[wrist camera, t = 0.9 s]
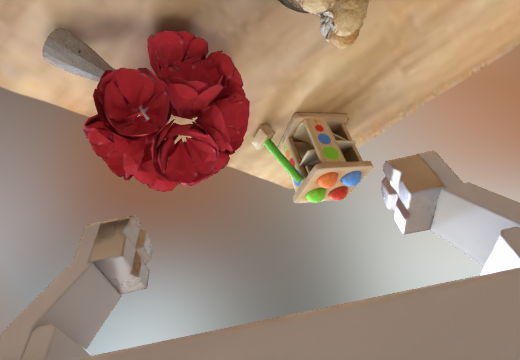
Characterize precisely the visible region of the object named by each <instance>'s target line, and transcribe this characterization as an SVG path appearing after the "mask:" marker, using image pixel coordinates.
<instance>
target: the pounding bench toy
mask: <svg viewBox="0 0 520 360" xmlns="http://www.w3.org/2000/svg"><path fill="white" fill-rule="evenodd" d="M348 119H349V118H348V116H347V114H337V113H294V115H293V117H292V119H291V121H290V123H289V125H288V127H287V129H286V131H285V133H284V135H283V137H282V139H281V142H280V144H279V146H278V148H277V147H276V145H275V144H274V143H273V142H272V141H271V138H272V137H273V135H274V134H275V131H274V130H273V129H272V128H271V127H270V125H268V124H265V125H262V126H261V127H260V128H259V130H258V132H257V133H256V135H255V137H254V138H253V140H252V144H253V145H254V146H255V148H256V149H257V150H259V149H261V148H263V147H265V146H266V147H267V148H268V149H269V150H270V152H271V153H272V154H273V155H274V156H275V157H276V159H277V160H278V161H279V162H280V163H281V164H282V166H283V167H284V168H285V169H286V170H287V171H288V173H289V175H290V178H291V180H292V183H293V186H294V188H295V191H296V193H295V195H294V197H293V200H294V202H295V203H304V202H313V203H318V202H320V201H328V200H342V199H344V198H345V197H346V196H347V195H348V194H349V193H350V192H351V191H352V190H353V189H354V187H355V186H356V185H357V184H358V183H359V182H360V181H361V180H362V179H363V178H364V177H365V176H366V175H367V174H368V173H369V172H370V171H371V170H372V168H373V165H372V163H371V162H370V161H363V160H362V158H361V156H360V155H359V152H358V150H357V148H356V146H355V144H356V141H353V140H352V138H351V136H350V134H349V132H348V130H347V128H346V126H345V123H346V122H347V121H348Z"/></svg>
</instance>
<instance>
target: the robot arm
mask: <svg viewBox="0 0 520 360" xmlns="http://www.w3.org/2000/svg"><path fill="white" fill-rule="evenodd" d="M383 172H384V174H385V175H386V177H385V178H384V179H383V180H382V188H381V189H382V194H383V199H384V201H385V204H386V205H387V207H388V209H390V210H392V211H394V212H395V216H394V219H395V221H396V223H397V225H398V226H399V228H400V230H401V231H402V233H403V234H408V233H413V232H420V231H425V230H430V231H431V232H433V233H434V234H436V235H437V236H439V237H440V238H442V239H443V240H445V241H447V242H448V243H449V244H451V245H452V246H454V247H455V248H457V249H458V250H460V251H461V252H463V253H465V254H466V255H468V256H469V257H471V258H472V259H474V260H475V261H477V262H478V263H480V264H481V265H483V266H484V268H483V270H482V272H481V274H480V275H479V276H475V277H470V278H465V279H460V280H455V281H451V282H446V283H441V284H436V285H432V286H427V287H421V288H417V289H412V290H407V291H403V292H397V293H393V294H388V295H383V296H378V297H373V298H369V299H364V300H359V301H354V302H350V303H344V304H340V305H335V306H331V307H325V308H320V309H316V310H311V311H306V312H301V313H296V314H292V315H287V316H282V317H277V318H272V319H268V320H263V321H258V322H253V323H248V324H244V325H239V326H234V327H229V328H224V329H219V330H214V331H210V332H205V333H200V334H195V335H190V336H186V337H181V338H176V339H171V340H166V341H161V342H157V343H152V344H147V345H142V346H137V347H132V348H128V349H123V350H118V351H113V352H108V353H104V354H99V355H94V356H93V355H92V354H91V353H89V352H88V351H87V350H86V349H87V347H88V346H89V345H90V343H91V341H92V340H93V338H94V337H95V335H96V333H97V332H98V331H99V329H100V328H101V326H102V325H103V323H104V322H105V320H106V319H107V317H108V316H109V314H110V312H111V311H112V310H113V308H114V307H115V305H116V304H117V302H118V301H119V299H120V298H121V294H125V293H129V292H133V291H138V290H142V289H146V288H147V285H148V278H149V269H148V267H147V266H146V264H147V263H148V262H149V261H150V259H151V255H152V246H151V241H150V239H149V236H148V234H147V233H146V231H144V230H142V229H140V221H139V220H138V219H137V217H136V216H128V217H122V218H118V219H112V220H107V221H103V222H98V223H93V224H88V225H87V226H86V227H85V228H84V231H83V233H82V236H81V239H80V242H79V245H78V248H77V251H76V253H75V256H74V259H73V262H72V265H71V267H68V268H66V269H65V270H64V271H63V272H62V273H61V274H60V275H59V276H58V277H57V278H56V279H55V280H54V281H53V282H52V283H51V284H50V285H49V286H48V287H47V288H46V289H45V290H44V291H43V292H42V293H41V294H40V295H39V296H38V297H37V298H36V299H35V300H34V301H33V302H32V303H31V304H30V305H29V306H28V307H27V308H26V309H25V310H24V311H23V312H22V313H21V314H20V315H19V316H18V317H17V318H16V319H15V320H14V321H13V322H12V323H11V324H10V325H9V326H8V327H7V328H6V329H5V330H4V331H3V332H2V333H1V335H0V360H520V203H519V202H516V201H514V200H511V199H509V198H506V197H504V196H501V195H499V194H496V193H494V192H491V191H489V190H486V189H484V188H481V187H478V186H476V185H474V184H471V183H463V182H462V181H461V180H460V179H459V177H458V176H457V175H456V174H455V173H454V172H453V171H452V170H451V168H450V167H449V166H448V165H447V164H446V163H445V162H444V161H443V159H441V157H440V156H439V155H438V154H437V153H436V152H435V151H429V152H425V153H420V154H416V155H412V156H407V157H403V158H398V159H394V160H389V161H385V163H384V166H383Z"/></svg>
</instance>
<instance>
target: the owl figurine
mask: <svg viewBox="0 0 520 360" xmlns="http://www.w3.org/2000/svg"><path fill="white" fill-rule="evenodd" d="M278 1H280V2H281V3H282V4H283V5H285V6H286V7H288V8H290V9H292V10H295V11H297V12H302V13H312V14H314V13H315V14H316V15H318V16H320V23H321V27H320V31H321V33H322V34H323V35H324V36H325V38H326V40H327V41H329V42H330V43H331V44H333V46H336V47H338V48H347V47H349V46H351V45H352V44H353V43H354V41H355V40H356V39H357V37H358V35H359V31H360V29H361V27H362V25H363V21H364V19H365V17H366V12H367V7H368V2H370V0H278Z"/></svg>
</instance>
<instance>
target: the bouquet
mask: <svg viewBox="0 0 520 360" xmlns="http://www.w3.org/2000/svg"><path fill="white" fill-rule="evenodd" d="M222 52H223V51H222V50H221V51H217V52H213V53H211V54H210V55H209V56H208V57H207V58H205V57H206V54H207V53H208V43H207V42H206V41H205V40H204V39H202V38H199V37H198V38H196V37H195V35H194V34H191V33H188V32H185V31H164V30H163V31H161V32H158V33H157V34H156V36H155V37H154V36H153V35H150V36H149V38H148V53H149V58H150V64H151V67H152V68H153V70H154V72H155V74H156V75H157V76H156V75H155V74H153V73H152V72H151V71H149V70H148V69H147V68H138V70H137V69H126V68H120V69H118V70H115V69H113V68H112V67H111V66H110V65H109V64H108V63H106V62H105V61H104V60H103V59H102V58H101V57H100V56H99V55H98V54H97V53H96V52H95V51H93V50H92V49H91V48H90V47H89V46H88V45H86V44H85V43H84V42H83V41H82V40H80V39H79V38H77V37H76V36H74V35H73V34H71V33H69V32H67V31H66V30H64V29H62V28H58V29H56V30H54V31H53V32H52V33H51V34H50V35H49V36H48V38H47V40H46V42H45V44H44V47H43V57H44V59H45V60H46V61H48V62H50V63H51V64H53V65H55V66H56V67H58V68H61V69H63V70H66V71H68V72H70V73H73V74H76V75H79V76H82V77H85V78H89V79H92V80H95V81H98V82H99V83H98V86H97V89H95V91H94V94H93V97H94V101H95V106H96V109H97V112H98V114H97V115H95V116H93V117H90V118H89V119H88V120H87V121H86V122H85V124H84V127H83V130H84V132H85V135H86V138H87V139H88V140H89V142H90V143H91V145H92V148H93V150H94V151H95V152H96V154H97V155H98V156H100V157H102V159H103V160H104V161H105V162H106V163H107V164H108V166H109V168H110V169H111V171H112V172H113V173H114V174H116V175H117V176H119V177H122V176H124V179H125V180H129V179H130V178H131V177H132V176H134V177H135V178H136V179H137V180H138V181H140V182H141V183H143V184H147V185H148V187H149V188H152V189H155V190H157V191H162V192H166V191H171V190H173V189H174V188H175V187H176V186H177V185H178V183H179V184H181V183H182V185H183V186H186V185H187V184H188V185H190V186H192V185H195V184H198V183H199V182H201V181H203V180H205V179H207V178H209V177H210V176H212V175H213V174H216V173H218V172H219V170H221V169H223V168H224V167H225V166H226V165H227V164H228V162H229V159H230V157H229V155H231V154H233V153H235V151H236V150H237V149H238V148H239V147H240V146H241V145H242V142H243V140H244V139H243V137H244V135H245V133H246V131H247V126H248V118H249V103H250V101H249V100H248V99H247V98H246V97H245V93H244V90H243V89H242V86H243V82H242V79H241V75H240V74H239V72H238V70H237V69H236V67H235V66H234V64H233V62H232V60H231V58H230V57H229V56H227V55H226V54H221V53H222ZM213 100H214V101H213ZM173 108H174V109H173ZM139 114H140V116H139V117H137V116H138V115H139ZM171 114H172V115H173V116H178V117H180V118H181V117H182V118H187V119H192V118H195V117H198V118H197V119H196V120H195V122H196V123H195V122H192V123H193V124H186V125H179V124H176V123H173V121H174V120H175V119H174V120H173V121H171V122H170V123H168V124H167V122H168V121H169V119H170V117H171ZM192 120H193V119H192ZM172 123H173V124H172ZM166 124H167V125H166ZM171 124H172V125H171ZM170 126H171V127H170ZM178 135H186V136H191V137H193V138H191V139H190V138H187V137H186V140H187V142H185V141H184V142H182V139H180V140H179V141H178V142H177V143H176V144H175V143H174V141H175V139H176V138H177V137H178ZM165 138H166V139H165ZM164 139H165V140H164Z"/></svg>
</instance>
